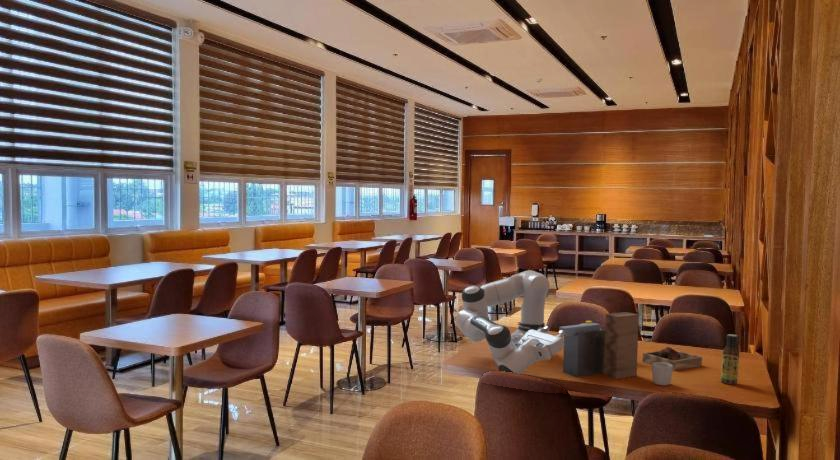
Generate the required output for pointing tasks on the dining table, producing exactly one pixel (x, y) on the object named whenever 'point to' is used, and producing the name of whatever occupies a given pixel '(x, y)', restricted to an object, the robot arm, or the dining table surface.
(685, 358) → the caddy
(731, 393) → the dining table surface
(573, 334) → the rail
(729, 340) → the sauce bottle
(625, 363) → the post
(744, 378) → the dining table surface
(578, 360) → the dark gray box
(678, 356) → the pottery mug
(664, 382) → the cup
